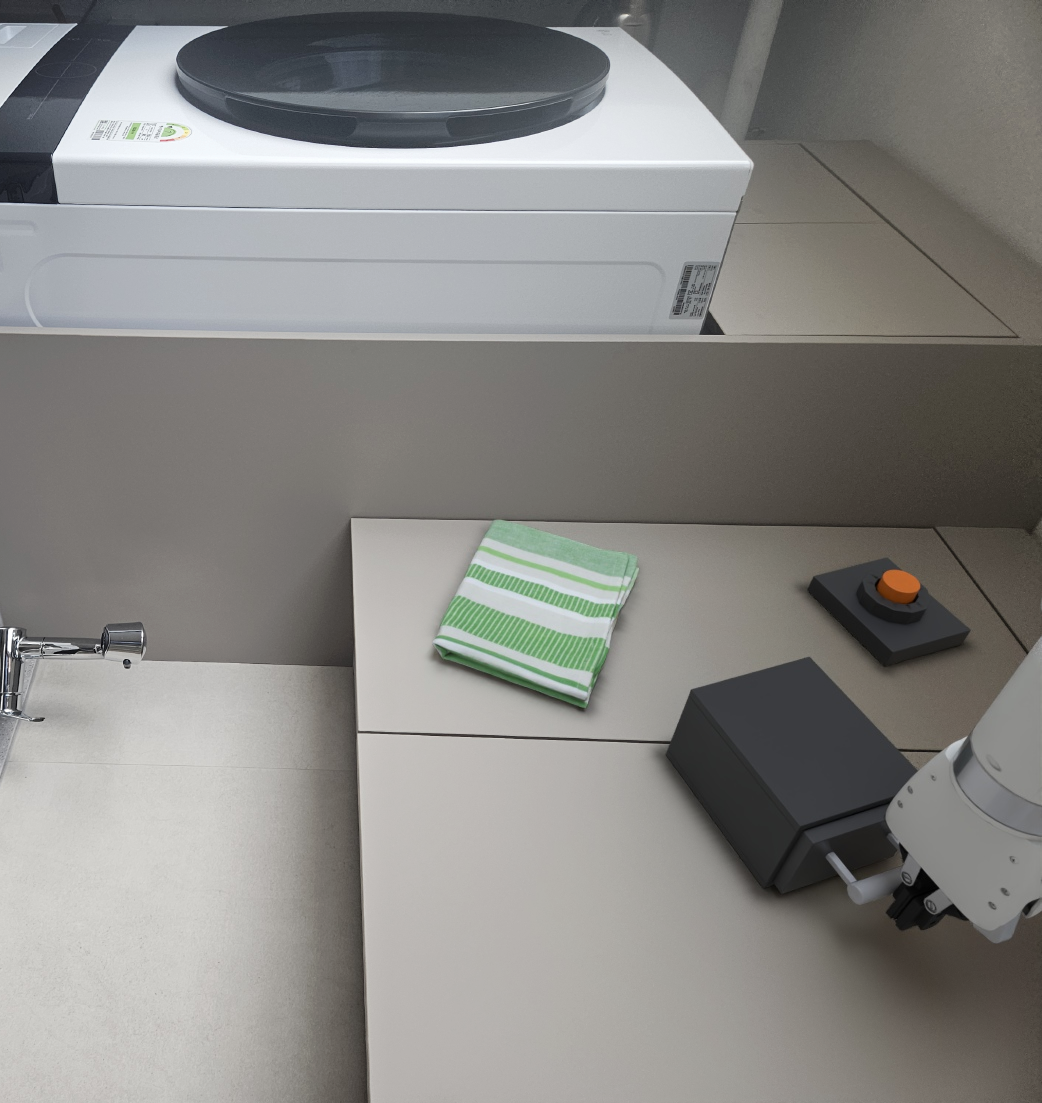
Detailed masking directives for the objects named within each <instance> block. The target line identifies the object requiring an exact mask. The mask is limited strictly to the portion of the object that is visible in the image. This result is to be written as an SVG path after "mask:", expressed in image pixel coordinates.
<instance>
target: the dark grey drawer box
mask: <svg viewBox="0 0 1042 1103" xmlns="http://www.w3.org/2000/svg"><path fill="white" fill-rule="evenodd" d="M665 755H666V757H667V758H668V759H669V761H670V762H671V764H672V765H673V766H674V768H675V769H676V770H677V772H678V773H679V774H680V776H681V777H682V779H683V780H684V781H685V783H686V784H687V786H688V787H689V788H690V790H691V791H692V793H693V794H694V795H695V797H696V798H697V800H698V801H699V802H700V803H701V805H702V806H703V808H704V809H705V811H706V812H707V813H708V814H709V816H710V817H711V819H712V820H713V821H714V823H715V825H716V826H717V827H718V828H719V830H720V831H721V833H722V834H723V836H724V837H725V838H726V840H727V841H728V842H729V843H730V845H731V847H732V848H733V849H734V850H735V852H736V854H737V855H738V856H739V857H740V859H741V860H742V862H743V863H744V865H745V866H746V867H747V869H748V870H749V871H750V873H751V874H752V875H753V876H754V878H755V880H756V881H757V882H758V884H759V885H760V886H761V888H762V889H766V888H769V887H771V886H775V884H774V883H773V880H774V879H775V877H776V875H777V874H778V872H779V870H780V869H781V867H782V865H783V864H784V862H785V860H786V859H787V857H788V855H789V854H790V852H791V850H792V849H793V847H794V845H795V844H796V842H797V841H798V839H799V837H800V836H801V834H802V832H803V831H804V830H805V829H807V828H810V827H813V826H817V825H820V824H823V823H826V822H829V821H832V820H835V819H838V818H841V817H844V816H848V815H851V814H854V813H857V812H860V811H863V810H866V809H869V808H872V807H875V806H878V805H882V804H885V803H887V804H888V803H891V801H892V800H893V799H894V797H895V796H896V795H897V793H898V792H899V791H900V790H901V789H902V787H903V786H904V785H905V784H906V783H907V782H908V781H909V780H910V779H911V778H912V777H913V776H914V775H915V774H916V773H917V772H918V771H919V770H918V769H917V768H916V767H915V766H914V764H912V763H911V761H909V759H908V758H906V756H905V755H904V754H903V753H902V752H901V751H900V750H899V749H898V747H897V746H895V744H894V743H893V742H892V741H891V740H890V739H889V738H888V737H887V736H886V735H885V734H884V733H883V732H882V731H881V730H880V729H879V727H877V726H876V724H874V723H873V721H872V720H871V719H870V718H869V717H868V716H866V714H865V713H864V712H863V711H862V710H861V709H860V708H859V707H858V706H857V705H856V703H855V702H853V701H852V699H851V698H850V697H849V696H848V695H847V694H846V693H845V692H844V691H843V690H842V689H841V688H840V687H839V686H838V684H836V683H835V681H833V679H832V678H831V677H830V676H829V675H828V674H827V673H826V672H825V671H824V670H823V669H822V668H821V667H820V666H819V665H818V664H817V663H816V662H815V660H814V659H813V658H812V657H811V656H805V657H803V658H799V659H795V660H792V661H788V662H785V663H781V664H778V665H774V666H770V667H766V668H762V669H760V670H756V671H751V672H748V673H744V674H741V675H738V676H734V677H731V678H728V679H727V678H726V679H724V680H720V681H716V682H713V683H709V684H705V685H702V686H701V685H700V686H698V687H694V688H691V689H690V691H689V694H688V695H687V699H686V702H685V703H684V706H683V709H682V711H681V714H680V717H679V719H678V721H677V724H676V726H675V729H674V732H673V735H672V737H671V740H670V741H669V744H668V747H667V750H666V753H665Z"/></svg>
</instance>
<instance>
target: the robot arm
mask: <svg viewBox="0 0 1042 1103" xmlns="http://www.w3.org/2000/svg"><path fill="white" fill-rule="evenodd" d="M1040 611H1041V612H1042V598H1041V599H1040ZM884 821H885V823H886V824H887V826H888V827H889V829H890V830H891V832H892V833H893V835H894V837H895V838H896V840H898V841H899V848H900V852H901V853H900V852H899V853H900V855H901V859H902V860H901V861H902V864H903V865H902V869H901V871H900V877H901V879H902V883H901V884H900V885H899V887H898V888H897V889H896V890H895V892H894V893H893V894H891V896H892V898H893V899H894V901H893V902H892V903H891V904H890V906H888V908H887V909H886V910H885V914H886V915H887V917H888V918H889V919H890V920H893V921H894V923H895V926H896V928H897V929H898V930H899V931H900V932H904V931H907V930H909V929H912V928H914V927H917V928H918V929H919V930H920V931H921V932H924V931H927V930H929V929H932V928H934V927H935V926H937V925H938V924H939V923H940V922H941V921H942V920H943V919H944V917H945V916H948V917H951V918H954V919H955V918H956V919H958V920H961V921H964V922H969V923H971V926H972V927H973V928H974V929H975V930H976V931H977V932H978V933H980V935H982V936H983V937H984V938H985V939H986V940H988V941H989V942H990V943H991V944H994V945H998V944H1000V943H1003V942H1005V941H1008V940H1011V939H1012V938H1013V936H1014V933H1015V930H1016V928H1017V926H1018V923H1019V921H1020V918H1021V915H1022V916H1023V917H1024V918H1025V919H1027V920H1028V919H1030V918H1033V917H1034V916H1036V915H1038V914H1039V913H1041V912H1042V635H1041V636H1040V637H1039V638H1038V640H1037V641H1036V642H1035V644H1034V645H1033V646H1032V648H1031V649H1030V650H1029V652H1028V653H1027V655H1026V656H1025V657H1024V659H1023V660H1022V661H1021V663H1020V664H1019V666H1018V667H1017V668H1016V670H1015V671H1014V673H1012V675H1011V677H1010V678H1009V679H1008V681H1007V682H1006V684H1005V685H1004V687H1003V688H1002V689H1001V691H1000V692H999V693H998V695H997V696H996V697H995V699H994V700H993V702H992V703H991V704H990V705H989V706H988V708H987V709H986V711H985V712H984V713H983V715H982V717H981V718H980V719H979V720H978V722H977V723H976V725H975V726H974V727H973V728H972V730H970V732H969V733H968V735H967V736H965V737H962V738H961V739H959V740H956V741H954V742H952V743H951V744H949V745H948V746H946V747H945V748H944V749H942V750H941V751H940V752H938V753H937V754H936V755H934V757H932V758H931V759H929V761H928V762H927V763H925V764H924V765H923V766H922V767H921V768H920V769H919V770H918V772H917V773H916V774H915V775H914V776H913V777H912V778H911V779H910V780H909V781H908V782H907V783H906V784H905V785H904V786H903V787H902V789H901V790H900V791H899V792H898V793H897V795H896V796H895V797H894V799H893V800H892V801H891V803H890V805H889V806H888V809H887V811H886V814H885V815H884Z"/></svg>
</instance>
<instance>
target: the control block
mask: <svg viewBox="0 0 1042 1103" xmlns="http://www.w3.org/2000/svg"><path fill="white" fill-rule="evenodd" d="M889 570H900V571H903V569H901V567H899V566H898V565H897V564H895V562H894V561H892V560H891V559H890V558H889V557H888V556H887V557H883V558H882V557H881V558H878V559H875V560H871V561H867V562H863V563H860V564H856V565H851V566H848V567H844V568H840V569H836V570H832V571H828V572H824V573H821V574H820V573H819V574H817V575H814V576H813V577H812V579H811V581H810V582H809V585H808V587H807V589H806V590H807V592H808V593H809V594H810V595H812V597H813V598H814V599H816V600H817V601H818V603H819V604H820V605H822V606H823V607H824V608H825V609H826V610H827V612H829V613H830V614H831V616H833V617H834V618H835V620H837V621H838V622H839V623H840V624H841V625H842V626H843V627H844V628H845V629H846V630H847V631H848V632H849V633H850V634H851V635H852V636H853V637H854V638H855V639H856V640H857V641H858V642H859V643H860V644H861V645H862V646H863V647H864V648H865V649H867V651H868V652H869V653H871V655H872V656H873V657H875V659H877V660H878V661H879V663H881V665H883V666H884V667H887V666H890V665H894V664H898V663H901V662H904V661H908V660H911V659H914V658H915V659H916V658H918V657H922V656H926V655H928V654H932V653H936V652H939V651H943V650H946V649H950V648H953V647H957V646H960V645H963V644H964V642H965V641H966V639H967V637H968V636H969V634H970V632H971V631H972V630H971V628H969V627H968V626H967V625H966V624H965V623H964V622H963V621H962V620H960V619H959V618H958V617H957V616H956V615H954V614H953V612H951V611H950V610H949V609H948V608H947V607H945V606H944V605H943V604H941V602H939V601H938V600H937V599H936V598H935V597H934V596H933V595H932V594H930V592H929V589H928V588H927V587H926V586H924V585H923V584H922V583H921V582H920V581H919V583H920V589H919V591H918V593H917V595H916V596H915V598H914V600H913V601H912V602H911V603H908V604H900V603H894V602H892V601H890V600H888V599H885V598H884V597H883V596H881V595H880V594H879V593H878V591H877V585H878V583H879V582H880V580H881V578H882V576H883V574H884V573H885V572H886V571H889Z"/></svg>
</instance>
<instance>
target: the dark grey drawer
mask: <svg viewBox="0 0 1042 1103" xmlns="http://www.w3.org/2000/svg"><path fill="white" fill-rule="evenodd" d="M889 805H890V803H888V804H887V803H885V804H882V805H878V806H875V807H872V808H869V809H866V810H863V811H860V812H857V813H854V814H851V815H848V816H844V817H841V818H838V819H835V820H832V821H829V822H826V823H823V824H820V825H817V826H813V827H810V828H807V829H805V830H804V831H803V832H802V834H801V836H800V837H799V839H798V841H797V842H796V844H795V845H794V847H793V849H792V850H791V852H790V854H789V855H788V857H787V859H786V860H785V862H784V864H783V865H782V867H781V869H780V870H779V872H778V874H777V875H776V877H775V879H774V880H773V883H774V884H775V885H774V886H775V887H776V888H777V890H778V891H779V892H780V895H781V894H786V893H789V892H792V891H795V890H798V889H800V888H804V887H806V886H807V887H808V886H809V885H812V884H816V883H819V882H822V881H824V880H827V879H830V878H833V877H836V876H840V878H841V880H843V882H844V883H845V884H846V885H847V887H846V891H847V895H848V897H849V898H850V900H851V901H852V902H853V903H854V904H856V905H864V904H867V903H870V902H872V901H876V900H878V899H881V898H884V897H887V896H890V895H892V894H893V893H894V892H895V890H896V889H897V888H898V887H899V885H900V884H901V883H902V879H901V877H900V871H901V869H902V866H903V865H902V866H899V867H895V868H892V869H890V870H887V871H884V872H880V873H878V874H874V875H872V876H869V877H867V878H864V879H863V878H862V879H861V880H857V879H856V878H855V876H854V875H853V874H852V873H851V871H854V870H857V869H859V868H863V867H865V866H868V865H872V864H874V863H878V862H881V861H883V860H886V859H889V858H893V857H894V856H895V855H896V853H897V852H899V853H900V854H901V852H900V848H899V841H898V840H896V838H895V837H894V835H893V833H892V832H891V830H890V829H889V827H888V826H887V824H886V823H885V821H884V815H885V814H886V811H887V809H888V806H889Z"/></svg>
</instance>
